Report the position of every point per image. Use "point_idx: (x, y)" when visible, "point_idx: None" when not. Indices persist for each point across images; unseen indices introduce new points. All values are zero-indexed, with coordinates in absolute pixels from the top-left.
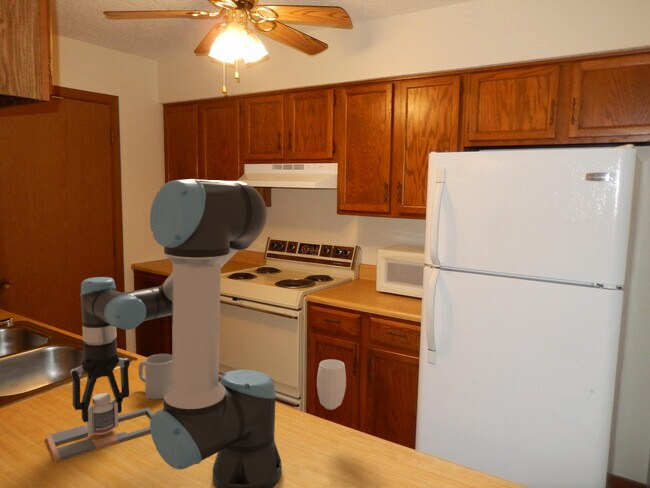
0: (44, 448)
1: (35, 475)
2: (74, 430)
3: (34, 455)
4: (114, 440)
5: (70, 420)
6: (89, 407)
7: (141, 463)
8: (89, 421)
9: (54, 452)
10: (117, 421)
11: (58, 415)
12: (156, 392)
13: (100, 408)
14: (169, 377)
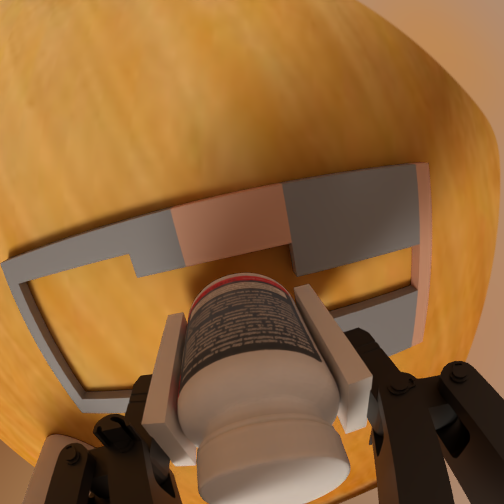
0: (433, 278)
1: (457, 115)
2: None
3: (456, 244)
4: (187, 205)
5: (335, 419)
6: (354, 410)
7: (106, 9)
8: (333, 325)
9: (428, 213)
10: (166, 332)
11: (354, 439)
12: None
13: (281, 388)
14: (33, 479)
